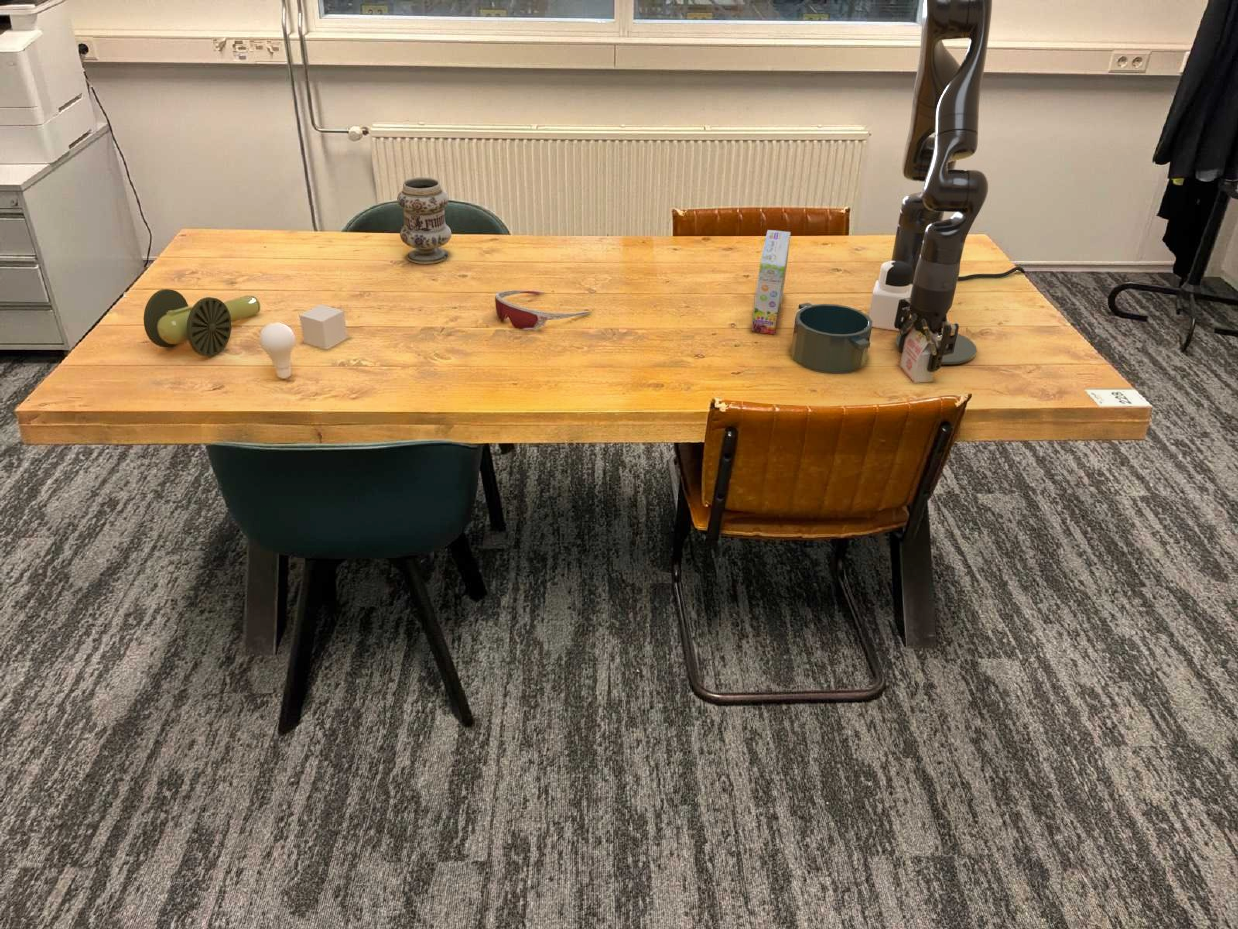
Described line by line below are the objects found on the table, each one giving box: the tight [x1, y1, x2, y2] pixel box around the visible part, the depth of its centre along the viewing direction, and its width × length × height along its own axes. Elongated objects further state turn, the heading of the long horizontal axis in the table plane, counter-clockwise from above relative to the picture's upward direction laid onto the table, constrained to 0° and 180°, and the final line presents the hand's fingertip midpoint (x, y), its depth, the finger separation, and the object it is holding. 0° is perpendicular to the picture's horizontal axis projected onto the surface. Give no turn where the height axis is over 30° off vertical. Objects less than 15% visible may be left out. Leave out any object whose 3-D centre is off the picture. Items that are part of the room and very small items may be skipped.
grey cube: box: [298, 304, 349, 350], centre depth 188 cm, size 6×6×6 cm
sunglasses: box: [494, 289, 589, 331], centre depth 200 cm, size 17×17×5 cm
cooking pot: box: [790, 302, 873, 374], centre depth 185 cm, size 15×20×8 cm
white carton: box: [899, 328, 935, 384], centre depth 179 cm, size 4×7×10 cm, turn 9°
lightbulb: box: [258, 322, 296, 380], centre depth 173 cm, size 6×6×11 cm
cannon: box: [143, 288, 261, 358], centre depth 186 cm, size 25×12×11 cm, turn 160°
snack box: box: [750, 229, 792, 335], centre depth 199 cm, size 21×6×15 cm, turn 168°
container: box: [868, 260, 914, 332], centre depth 197 cm, size 8×8×13 cm
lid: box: [895, 332, 978, 365], centre depth 189 cm, size 16×16×6 cm
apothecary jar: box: [396, 177, 452, 265], centre depth 222 cm, size 12×12×18 cm
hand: (917, 361), depth 180 cm, fingers closed on white carton, 7 cm apart
